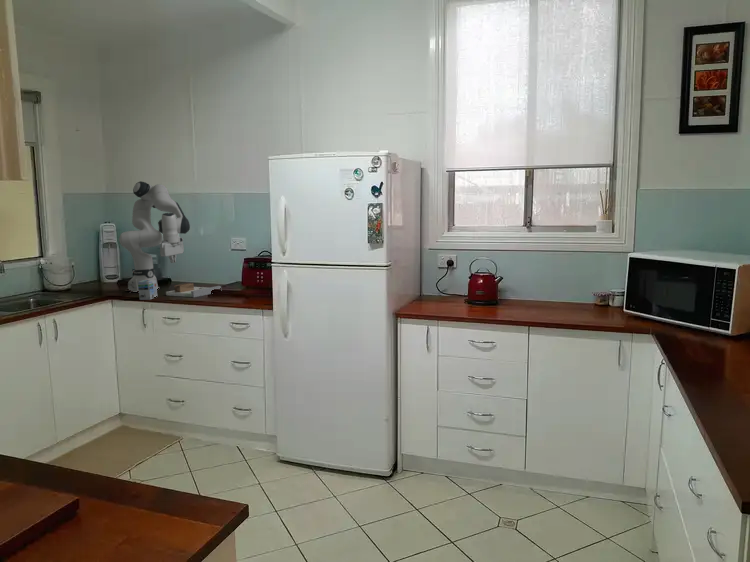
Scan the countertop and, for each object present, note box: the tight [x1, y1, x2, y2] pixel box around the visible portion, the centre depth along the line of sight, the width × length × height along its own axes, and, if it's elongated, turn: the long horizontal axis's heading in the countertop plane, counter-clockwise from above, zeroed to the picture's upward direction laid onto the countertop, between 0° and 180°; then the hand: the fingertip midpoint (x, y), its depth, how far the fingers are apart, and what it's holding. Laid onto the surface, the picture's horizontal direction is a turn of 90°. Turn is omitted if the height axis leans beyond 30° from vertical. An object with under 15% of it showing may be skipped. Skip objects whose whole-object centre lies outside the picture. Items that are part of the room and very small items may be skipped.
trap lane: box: [165, 285, 222, 298], centre depth 349 cm, size 25×21×4 cm
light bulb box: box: [138, 278, 158, 301], centre depth 338 cm, size 11×7×11 cm, turn 179°
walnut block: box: [174, 282, 195, 292], centre depth 347 cm, size 5×10×4 cm, turn 147°
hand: (173, 262), depth 350 cm, fingers closed
